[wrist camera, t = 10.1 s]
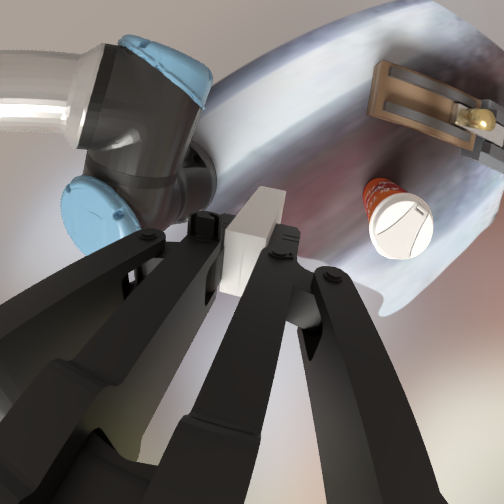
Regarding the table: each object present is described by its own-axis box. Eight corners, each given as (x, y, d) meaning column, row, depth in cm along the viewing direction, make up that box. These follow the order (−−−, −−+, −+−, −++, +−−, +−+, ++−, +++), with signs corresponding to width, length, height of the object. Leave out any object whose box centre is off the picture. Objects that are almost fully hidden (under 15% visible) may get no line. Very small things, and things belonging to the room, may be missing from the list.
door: (366, 114, 37) (376, 114, 30) (374, 67, 33) (385, 57, 26) (455, 146, 35) (478, 153, 28) (463, 101, 31) (488, 101, 24)
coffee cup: (373, 160, 40) (398, 181, 27) (413, 189, 40) (449, 223, 27) (345, 203, 44) (356, 242, 31) (384, 229, 44) (407, 276, 31)
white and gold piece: (449, 123, 29) (476, 127, 22) (453, 103, 28) (480, 103, 21) (496, 145, 28) (525, 155, 21) (499, 127, 26) (529, 133, 20)
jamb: (461, 154, 35) (486, 164, 28) (471, 99, 31) (498, 99, 23) (486, 166, 35) (513, 178, 27) (497, 113, 30) (525, 117, 22)
